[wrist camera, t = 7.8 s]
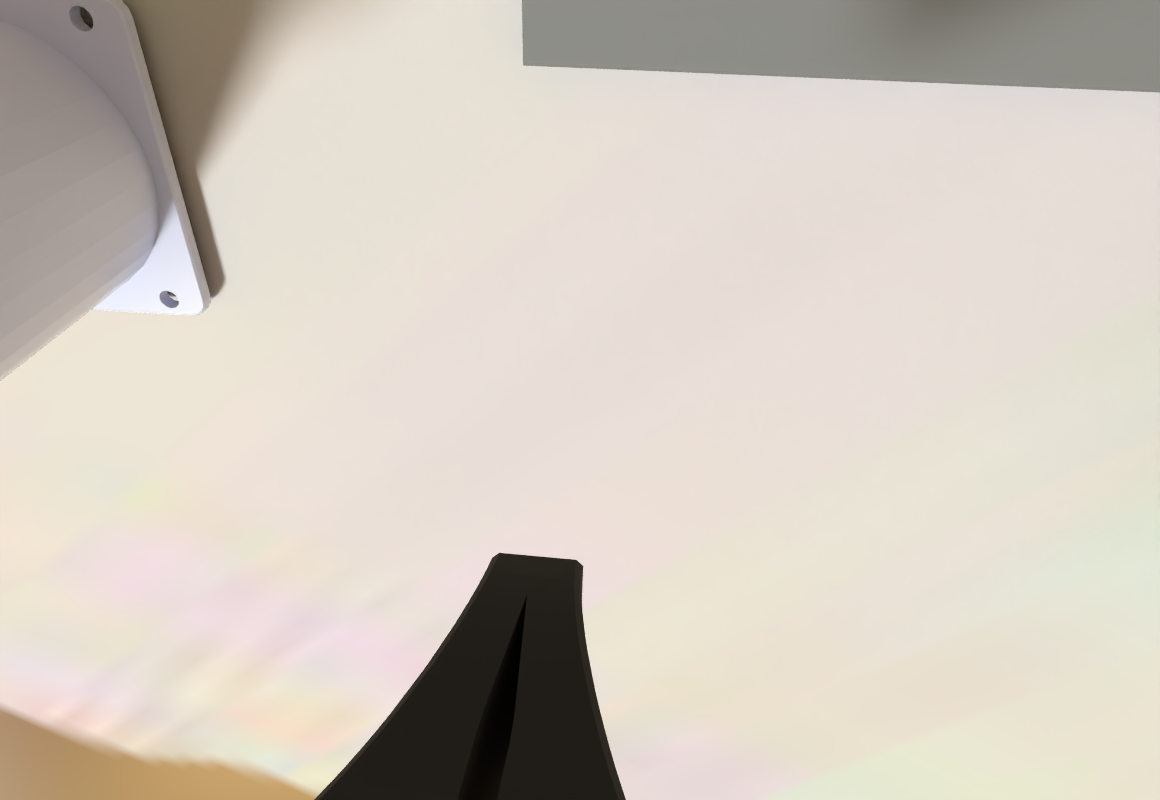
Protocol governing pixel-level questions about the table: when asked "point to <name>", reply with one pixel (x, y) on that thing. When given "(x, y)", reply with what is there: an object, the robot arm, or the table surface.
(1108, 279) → the table surface
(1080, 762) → the table surface
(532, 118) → the table surface
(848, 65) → the mat
